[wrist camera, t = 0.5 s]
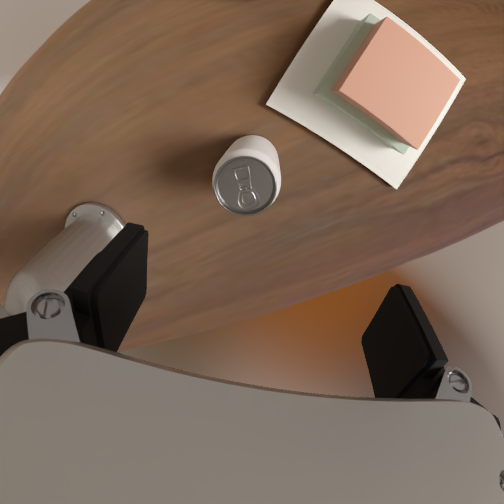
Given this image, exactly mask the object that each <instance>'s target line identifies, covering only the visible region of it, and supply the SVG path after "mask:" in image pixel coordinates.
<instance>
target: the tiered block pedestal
mask: <svg viewBox="0 0 504 504" xmlns="http://www.w3.org/2000/svg"><path fill="white" fill-rule="evenodd" d="M465 80H466V78H465V77H464V76H463V75H462V74H461V73H460V72H459V71H458V70H457V69H456V68H455V67H454V66H453V65H452V64H451V63H450V62H449V61H448V60H447V59H446V58H445V57H444V56H443V55H442V54H441V53H440V52H439V51H438V50H436V49H435V48H434V47H433V46H432V45H431V44H430V43H429V42H427V41H426V40H425V39H424V38H423V37H422V36H421V35H419V34H418V33H417V32H416V31H414V30H413V29H412V28H411V27H410V26H408V25H407V24H406V23H404V22H403V21H402V20H401V19H399V18H398V17H397V16H395V15H394V14H393V13H391V12H390V11H388V10H387V9H386V8H384V7H383V6H381V5H380V4H378V3H377V2H375V1H374V0H333V2H332V3H331V4H330V6H329V7H328V9H327V10H326V12H325V13H324V14H323V16H322V17H321V19H320V20H319V22H318V23H317V25H316V26H315V28H314V29H313V31H312V32H311V34H310V35H309V37H308V38H307V40H306V41H305V43H304V44H303V46H302V47H301V49H300V50H299V52H298V53H297V55H296V56H295V58H294V60H293V61H292V63H291V64H290V66H289V67H288V69H287V71H286V72H285V74H284V75H283V77H282V79H281V80H280V82H279V83H278V85H277V87H276V88H275V90H274V92H273V93H272V95H271V97H270V98H269V100H268V102H267V103H266V105H268V106H270V107H271V108H273V109H275V110H277V111H279V112H280V113H282V114H284V115H286V116H288V117H289V118H291V119H293V120H294V121H296V122H298V123H300V124H301V125H303V126H305V127H306V128H308V129H310V130H311V131H313V132H314V133H316V134H318V135H319V136H321V137H322V138H324V139H326V140H327V141H329V142H330V143H332V144H333V145H335V146H336V147H338V148H340V149H341V150H343V151H344V152H346V153H347V154H348V155H350V156H351V157H353V158H354V159H356V160H357V161H359V162H360V163H361V164H363V165H364V166H366V167H367V168H369V169H370V170H371V171H373V172H374V173H375V174H377V175H378V176H379V177H381V178H382V179H383V180H385V181H386V182H387V183H389V184H390V185H391V186H393V187H394V188H395V189H397V188H398V187H399V185H400V184H401V183H402V181H403V180H404V178H405V177H406V175H407V174H408V172H409V171H410V169H411V168H412V166H413V165H414V163H415V162H416V160H417V159H418V157H419V156H420V154H421V153H422V151H423V150H424V148H425V147H426V145H427V143H428V142H429V140H430V139H431V137H432V136H433V134H434V132H435V131H436V129H437V128H438V126H439V124H440V123H441V121H442V119H443V118H444V116H445V114H446V113H447V111H448V109H449V108H450V106H451V104H452V103H453V101H454V99H455V97H456V96H457V94H458V92H459V90H460V89H461V87H462V85H463V83H464V81H465Z"/></svg>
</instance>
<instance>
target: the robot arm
mask: <svg viewBox="0 0 504 504" xmlns="http://www.w3.org/2000/svg"><path fill="white" fill-rule="evenodd" d="M147 252H148V231H146V230H144V226H142V225H138V224H134V223H127V224H126V225H125V224H124V222H123V221H122V219H121V218H120V217H119V216H118V215H117V214H116V213H115V212H114V211H113V210H111V209H110V208H108V207H106V206H105V205H102V204H99V203H94V202H89V203H84V204H81V205H79V206H77V207H76V208H75V209H73V210H72V211H71V212H70V214H69V215H68V217H67V219H66V223H65V229H64V230H63V231H61V232H60V233H59V234H58V235H57V236H56V237H54V238H53V239H52V240H51V241H50V242H49V243H47V244H46V245H45V246H44V247H43V248H42V249H41V250H40V251H39V252H37V253H36V254H35V255H34V256H33V257H32V258H31V259H30V260H29V261H28V262H27V263H26V264H25V265H24V266H23V267H21V268H20V269H19V270H18V271H17V272H16V273H15V275H14V276H13V277H12V279H11V281H10V283H9V286H8V288H7V292H6V297H5V304H4V308H3V307H2V306H1V305H0V504H504V436H503V435H502V433H501V427H500V422H499V420H498V418H497V417H496V416H495V415H493V414H492V413H491V412H489V411H488V410H487V409H486V408H484V407H483V406H482V405H480V404H479V403H478V402H477V401H476V400H474V399H473V398H472V397H471V394H472V384H471V381H470V379H469V377H468V376H467V375H466V374H465V373H464V372H463V371H462V370H460V369H458V368H456V367H448V368H447V369H446V370H445V369H444V365H445V364H446V363H447V362H448V359H447V357H446V354H445V352H444V350H443V349H442V346H441V344H440V342H439V340H438V338H437V336H436V334H435V332H434V330H433V328H432V326H431V324H430V322H429V320H428V318H427V316H426V314H425V312H424V311H423V309H422V307H421V305H420V303H419V301H418V300H417V298H416V296H415V294H414V292H413V291H412V289H411V288H410V287H409V286H405V285H400V284H396V285H395V286H394V287H391V288H390V290H389V292H388V293H387V295H386V297H385V298H384V300H383V302H382V304H381V306H380V307H379V309H378V311H377V312H376V314H375V316H374V318H373V319H372V321H371V323H370V324H369V326H368V328H367V329H366V331H365V332H364V334H363V336H362V346H363V350H364V354H365V358H366V361H367V365H368V369H369V373H370V377H371V382H372V386H373V390H374V394H375V398H368V397H350V396H338V395H326V394H315V393H307V392H298V391H290V390H283V389H275V388H269V387H263V386H257V385H250V384H245V383H240V382H234V381H229V380H224V379H219V378H214V377H209V376H205V375H200V374H196V373H191V372H187V371H183V370H179V369H175V368H171V367H167V366H163V365H159V364H156V363H152V362H148V361H145V360H141V359H137V358H134V357H130V356H127V355H123V354H120V353H117V350H118V348H119V346H120V344H121V342H122V340H123V338H124V336H125V334H126V332H127V330H128V329H129V327H130V325H131V323H132V321H133V319H134V317H135V315H136V313H137V311H138V309H139V308H140V306H141V304H142V302H143V300H144V298H145V295H146V289H147Z"/></svg>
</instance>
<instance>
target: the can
mask: <svg viewBox="0 0 504 504" xmlns="http://www.w3.org/2000/svg"><path fill="white" fill-rule="evenodd" d="M212 184H213V189H214V193H215V196H216V198H217V200H218V202H219V203H220V204H221V206H222V207H223V208H225V209H226V210H227V211H229V212H231V213H233V214H235V215H239V216H252V215H256V214H259V213H261V212H263V211H264V210H266V209H267V208H268V207H269V206H270V205H271V204H272V203H273V202H274V200H275V199H276V197H277V196H278V193H279V190H280V186H281V174H280V166H279V160H278V155H277V151H276V149H275V147H274V146H273V145H272V144H271V143H270V142H269V141H268V140H267V139H265V138H263V137H261V136H257V135H247V136H244V137H241V138H239V139H237V140H236V141H235V142H234V143H233V144H232V145H231V146H230V147H229V148H228V150H227V151H226V152H225V153H224V155H223V156H222V157H221V159H220V160H219V162H218V163H217V165H216V167H215V169H214V172H213V178H212Z"/></svg>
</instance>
